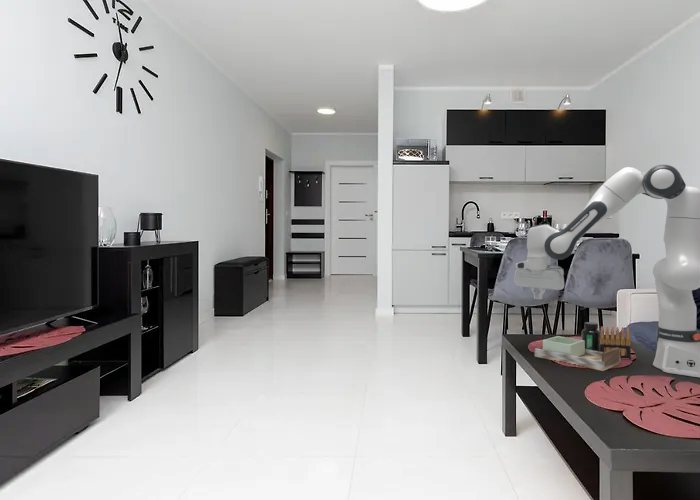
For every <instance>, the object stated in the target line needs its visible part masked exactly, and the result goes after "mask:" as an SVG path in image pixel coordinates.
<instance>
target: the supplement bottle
mask: <svg viewBox="0 0 700 500" xmlns="http://www.w3.org/2000/svg"><path fill="white" fill-rule="evenodd" d="M583 327H584V328H583V329H582V330H581V340H584V341H585V349H588V350H593V351H599V346H600V330H599V323H598V322H593V321H592V322H591V321H585V322H584V326H583Z"/></svg>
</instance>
